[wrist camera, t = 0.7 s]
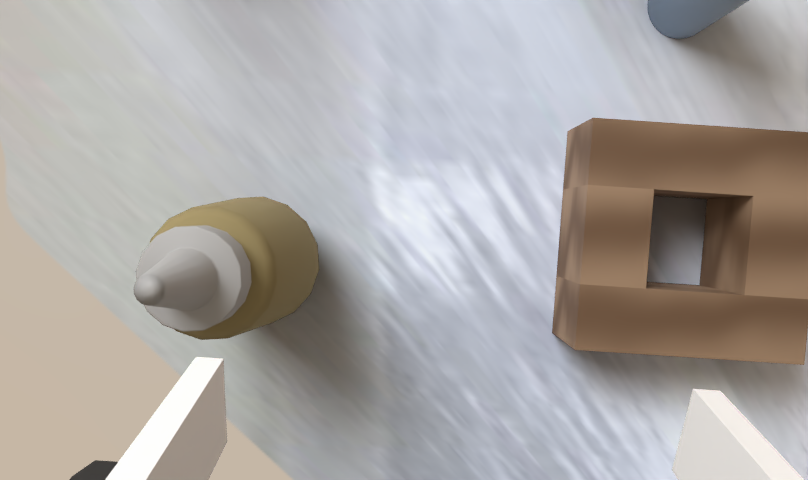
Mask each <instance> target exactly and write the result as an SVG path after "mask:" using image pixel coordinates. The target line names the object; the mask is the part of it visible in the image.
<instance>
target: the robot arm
mask: <svg viewBox="0 0 808 480" xmlns="http://www.w3.org/2000/svg"><path fill="white" fill-rule="evenodd" d="M226 443H227V431H226V407H225V383H224V359H220V358H205V357H196V358H195V359H194V360H193V362H192V363H191V364H190V366H189V367H188V368H187V370H186V371H185V372H184V374H183V375H182V376H181V378H180V379H179V381H178V382H177V383H176V385H175V386H174V387H173V389H172V390H171V392H170V393H169V394H168V395H167V397H166V398H165V399H164V401H163V402H162V404H161V405H160V406H159V408H158V409H157V410H156V412H155V413H154V414H153V416H152V417H151V419H150V420H149V421H148V422H147V424H146V425H145V427H144V428H143V429H142V431H141V432H140V434H139V435H138V436H137V437H136V439H135V440H134V441H133V443H132V444H131V446H130V447H129V448H128V450H127V451H126V453H125V454H124V455H123V456H122V458H121V459H120V461H119V462H110V461H94V462H92V463H91V464H89V465H88V466H86V467H85V468H84V469H82V470H81V471H79V472H78V473H76V474H75V475H74V476H72V477H71V479H70V480H208V479H209V477H210V475H211V473H212V471H213V469H214V467H215V465H216V463H217V461H218V459H219V457H220V455H221V453H222V451H223V449H224V447H225V445H226ZM672 471H673V472H674V474H675V475H676V477H677V479H678V480H804V479H803V478H802V477H801V476H800V475H799V474H798V473H797V472H796V470H795V469H794V468H793V467H792V466H791V465H790V464H789V463H788V462H787V461H786V460H785V459H784V458H783V457H782V456H781V455H780V453H779V452H778V451H777V450H776V449H775V448H774V447H773V446H772V445H771V444H770V443H769V442H768V441H767V440H766V439H765V438H764V436H763V435H762V434H761V433H760V432H759V431H758V430H757V429H756V428H755V427H754V426H753V425H752V424H751V423H750V422H749V421H748V419H747V418H746V417H745V416H744V415H743V414H742V413H741V412H740V411H739V410H738V409H737V408H736V407H735V406H734V405H733V404H732V402H731V401H730V400H729V399H728V398H727V397H726V396H725V395H724V394H723V393H722V392H721V391H719V390H704V389H693V391H692V395H691V399H690V402H689V406H688V410H687V414H686V418H685V422H684V426H683V429H682V433H681V437H680V441H679V445H678V449H677V452H676V456H675V460H674V464H673V468H672Z"/></svg>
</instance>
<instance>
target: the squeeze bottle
mask: <svg viewBox="0 0 808 480" xmlns="http://www.w3.org/2000/svg"><path fill="white" fill-rule="evenodd" d="M318 271H319V262H318V245H317V243H316V241H315V239H314V237H313V235H312V232H311V230H310V228H309V226H308V224H307V222H306V221H305V220H304V219H302V218H301V217H300V216H299V215H298V214H297V213H296V212H295V211H293V210H292V209H291V208H290V207H289V206H288V205H286V204H283V203H280V202H277V201H274V200H271V199H268V198H266V197H250V198H237V199H232V200H227V201H222V202H217V203H212V204H207V205H202V206H197V207H193V208H190V209H188V210H186V211H184V212H182V213H180V214H178V215H176V216H174V217H172V218H170V219H168V220H167V221H166V222H165V224H164V225H163V226H162V227H161V228H160V229H159V230H158V232H157V233H156V234H155V235H154V236H153V237H152V238H151V241H150V244H149V245H148V246H147V247H146V248H145V249H144V251H143V252H142V255H141V258H140V261H139V264H138V267H137V270H136V279H137V281H136V282H135V285H134V295H135V297H136V299H137V300H138V301H139V302H140V303H142V304H144V306H145V308H146V310H147V312H149V313H150V314H151V315H152V316H153V317H154V318H155V319H157V320H158V321H159V322H160V323H161V324H162V325H165V326H167V327H170V328H173V329H175V330H176V331H178V332H180V333H183V334H186V335H189V336H192V337H195V338H198V339H201V340H205V339H223V338H230V337H233V336H236V335H238V334H241V333H244V332H247V331H250V330H253V329H256V328H258V327H261V326H264V325H267V324H270V323H272V322H275V321H277V320H279V319H281V318H283V317H285V316H287V315H289V314H291V313H293V312H295V311H296V309H297V308H298V307H299V306H300V305H301V304H302V303H303V302H304V301H305V299H306V298H307V297H308V296H309V295H310V294H311V291H312V289H313V286H314V283H315V280H316V277H317V274H318Z"/></svg>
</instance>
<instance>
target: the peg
mask: <svg viewBox="0 0 808 480" xmlns="http://www.w3.org/2000/svg"><path fill="white" fill-rule="evenodd" d="M747 1H749V0H648V14H649V18H650V20H651V22H652V24H653V25H654V27H655V28H656V29H657V30H658V31H659V32H660V33H662V34H664V35H665V36H668V37H671V38H676V39H683V38H688V37H691V36H693V35H695V34H697V33H698V32H700V31H701V30H703V29H705V28H706V27H708V26H709V25H711V24H713V23H714V22H716V21H717V20H719V19H720V18H722V17H724V16H725V15H727V14H728V13H730V12H731V11H733V10H735V9H736V8H738V7H739V6H741V5H743V4H744V3H746V2H747Z"/></svg>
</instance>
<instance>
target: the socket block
mask: <svg viewBox="0 0 808 480" xmlns="http://www.w3.org/2000/svg"><path fill="white" fill-rule="evenodd" d="M654 196H668V197H682V198H697V199H707V206H706V218H705V229H704V241H703V253H702V264H701V276H700V285H687V284H672V283H657V282H647V270H648V258H649V246H650V234H651V222H652V210H653V198H654ZM807 329H808V132H794V131H780V130H765V129H750V128H736V127H721V126H706V125H691V124H677V123H662V122H647V121H633V120H618V119H603V118H592V119H590V120H588V121H586V122H584V123H582V124H581V125H579V126H577V127H575V128H573V129H571V130H569V131H568V134H567V147H566V160H565V174H564V187H563V200H562V213H561V226H560V239H559V252H558V265H557V278H556V291H555V304H554V317H553V330H552V333H553V334H554V335H556V336H557V337H558V338H560V339H561V340H562V341H564V342H565V343H566V344H568V345H569V346H570V347H572V348H573V349H574V350H585V351H600V352H616V353H631V354H646V355H662V356H677V357H692V358H708V359H723V360H739V361H754V362H769V363H785V364H800V365H804V361H805V350H806V340H807Z"/></svg>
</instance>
